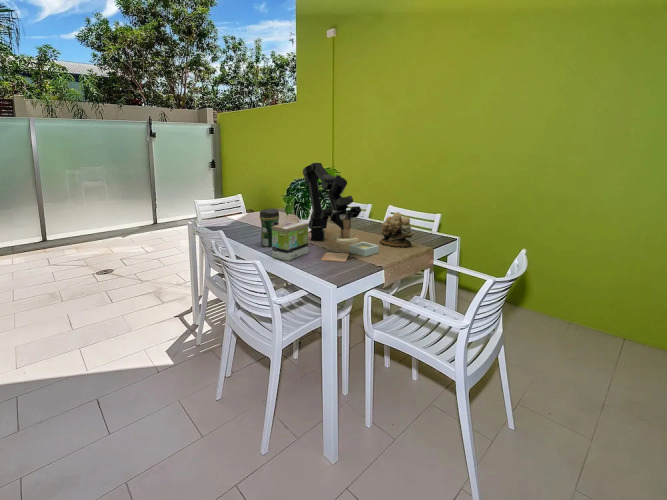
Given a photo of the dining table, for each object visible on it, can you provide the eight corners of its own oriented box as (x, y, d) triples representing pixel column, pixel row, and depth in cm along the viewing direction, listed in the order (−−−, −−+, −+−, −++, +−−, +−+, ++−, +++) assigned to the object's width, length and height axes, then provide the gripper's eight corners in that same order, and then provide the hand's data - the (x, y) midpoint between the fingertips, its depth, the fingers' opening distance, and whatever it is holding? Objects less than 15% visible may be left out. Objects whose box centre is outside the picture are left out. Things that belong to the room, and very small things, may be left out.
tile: (321, 260, 167) (321, 259, 167) (325, 253, 178) (325, 252, 178) (345, 262, 166) (345, 261, 165) (348, 254, 176) (348, 253, 176)
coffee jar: (272, 241, 198) (271, 206, 193) (283, 244, 193) (281, 208, 188) (258, 245, 191) (256, 209, 185) (268, 248, 186) (267, 211, 181)
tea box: (289, 261, 167) (288, 228, 162) (272, 257, 172) (270, 226, 167) (309, 253, 179) (308, 222, 175) (292, 249, 184) (291, 220, 180)
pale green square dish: (349, 252, 180) (349, 245, 179) (363, 248, 186) (363, 241, 185) (364, 256, 173) (364, 249, 172) (378, 252, 179) (378, 245, 178)
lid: (331, 240, 174) (332, 218, 171) (349, 238, 177) (349, 216, 174) (340, 245, 166) (340, 222, 163) (358, 243, 169) (359, 220, 166)
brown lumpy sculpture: (416, 244, 194) (419, 211, 189) (409, 250, 184) (411, 216, 179) (384, 239, 203) (385, 208, 198) (375, 244, 193) (376, 212, 188)
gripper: (322, 190, 164) (332, 220, 158) (360, 188, 172) (371, 216, 166) (315, 205, 174) (325, 234, 167) (351, 203, 181) (362, 230, 175)
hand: (346, 228), depth 168 cm, fingers closed on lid, 3 cm apart
